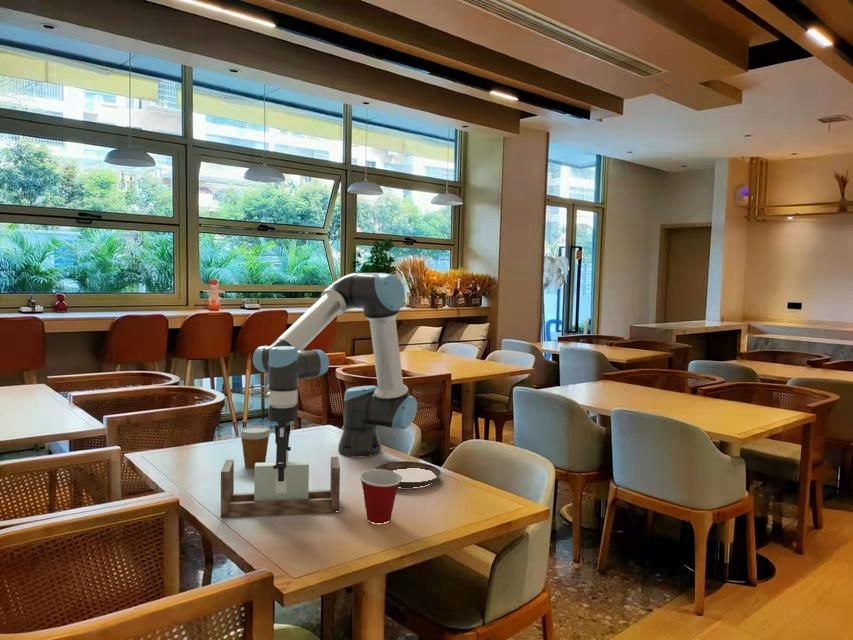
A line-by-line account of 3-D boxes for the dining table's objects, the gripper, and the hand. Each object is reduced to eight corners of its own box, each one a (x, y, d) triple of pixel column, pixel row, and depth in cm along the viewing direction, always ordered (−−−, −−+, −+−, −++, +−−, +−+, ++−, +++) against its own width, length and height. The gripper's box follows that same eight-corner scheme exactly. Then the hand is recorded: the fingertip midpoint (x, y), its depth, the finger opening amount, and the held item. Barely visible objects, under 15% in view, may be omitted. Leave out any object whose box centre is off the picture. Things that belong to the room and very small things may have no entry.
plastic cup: (384, 533, 149) (385, 485, 148) (349, 522, 155) (350, 476, 154) (409, 519, 158) (410, 473, 158) (375, 509, 164) (376, 466, 163)
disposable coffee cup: (265, 470, 193) (265, 433, 192) (235, 469, 193) (235, 432, 192) (273, 461, 203) (273, 426, 202) (245, 460, 203) (245, 425, 202)
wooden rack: (337, 498, 171) (338, 456, 171) (339, 512, 162) (340, 467, 161) (225, 503, 166) (226, 459, 165) (220, 517, 156) (220, 471, 155)
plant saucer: (421, 467, 202) (422, 457, 202) (453, 487, 184) (453, 476, 184) (363, 475, 193) (363, 464, 192) (390, 497, 174) (390, 485, 174)
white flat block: (308, 500, 166) (308, 461, 166) (308, 504, 164) (308, 464, 163) (255, 502, 164) (255, 462, 163) (254, 507, 161) (254, 466, 160)
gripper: (271, 395, 173) (270, 468, 175) (265, 416, 149) (264, 501, 150) (298, 395, 174) (297, 468, 176) (296, 415, 150) (295, 499, 152)
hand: (282, 483), depth 163 cm, fingers open, 13 cm apart
